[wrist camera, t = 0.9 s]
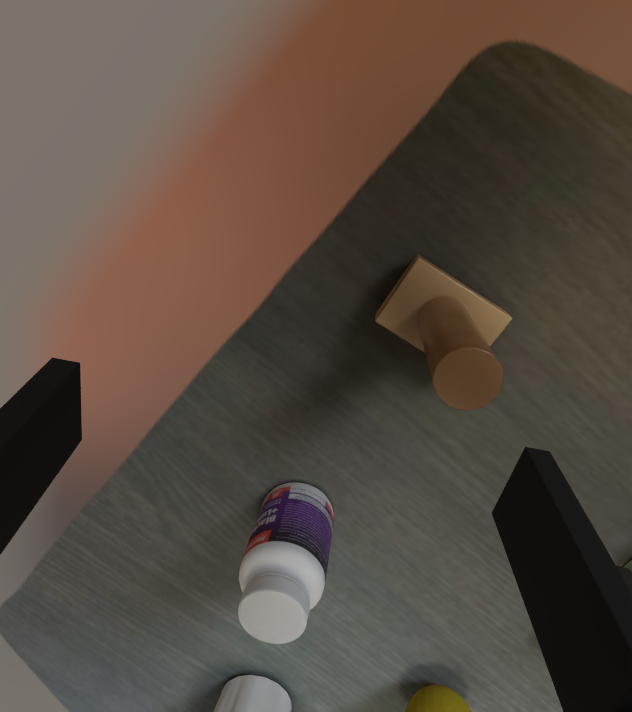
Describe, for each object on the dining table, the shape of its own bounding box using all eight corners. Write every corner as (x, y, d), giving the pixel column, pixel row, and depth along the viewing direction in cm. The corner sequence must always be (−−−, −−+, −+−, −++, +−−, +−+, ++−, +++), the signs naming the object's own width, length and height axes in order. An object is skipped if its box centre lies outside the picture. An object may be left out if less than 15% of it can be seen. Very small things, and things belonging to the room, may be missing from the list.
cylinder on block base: (415, 251, 30) (435, 293, 20) (503, 307, 31) (568, 379, 20) (374, 311, 32) (372, 380, 21) (459, 364, 32) (497, 458, 22)
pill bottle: (274, 469, 37) (240, 567, 28) (344, 495, 37) (333, 601, 28) (253, 526, 39) (214, 634, 30) (320, 550, 39) (301, 666, 30)
